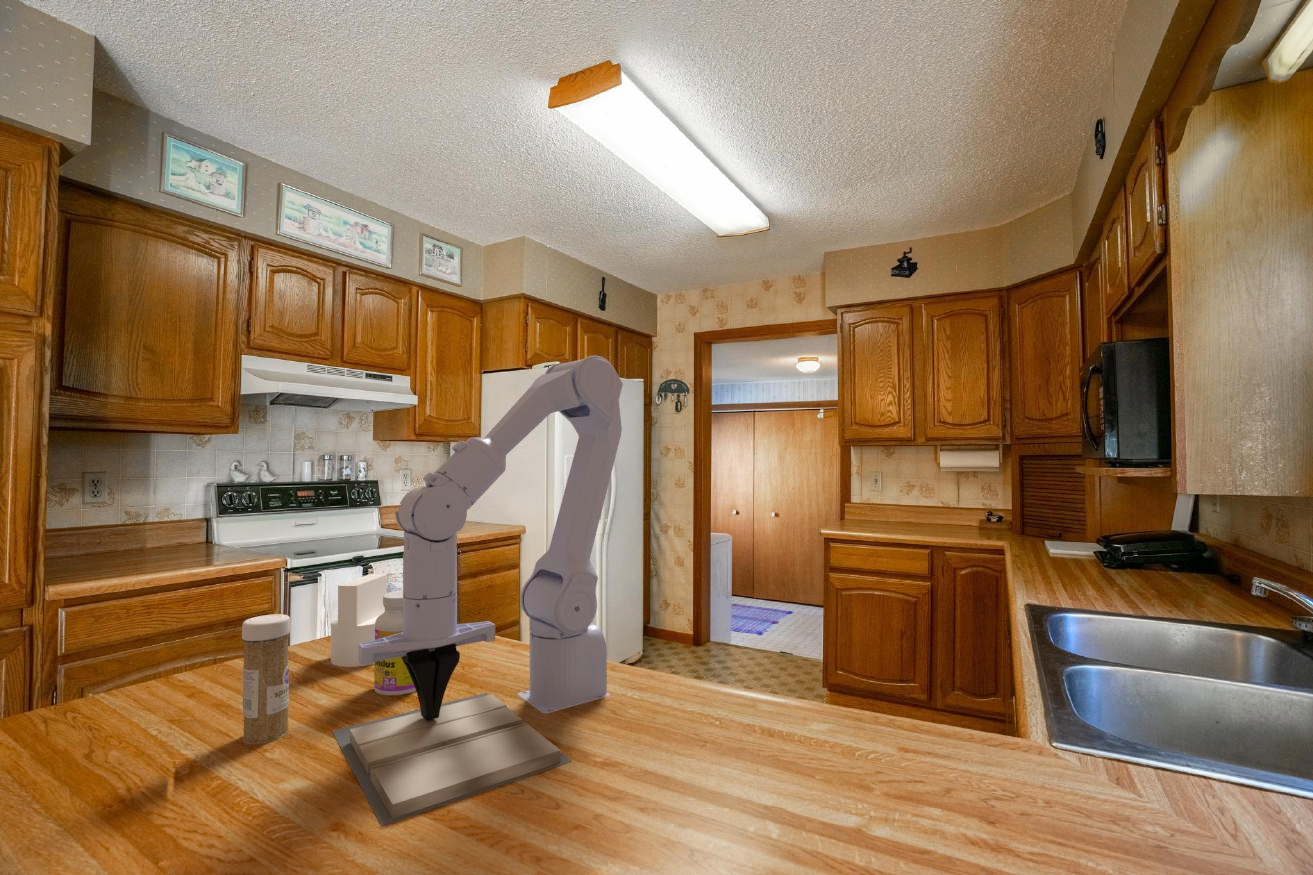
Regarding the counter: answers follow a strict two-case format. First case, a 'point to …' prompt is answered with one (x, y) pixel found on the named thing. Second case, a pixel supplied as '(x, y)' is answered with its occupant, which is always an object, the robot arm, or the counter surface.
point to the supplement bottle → (393, 671)
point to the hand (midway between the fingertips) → (430, 716)
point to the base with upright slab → (356, 617)
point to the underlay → (370, 790)
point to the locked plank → (461, 768)
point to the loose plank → (430, 730)
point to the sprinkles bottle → (265, 678)
